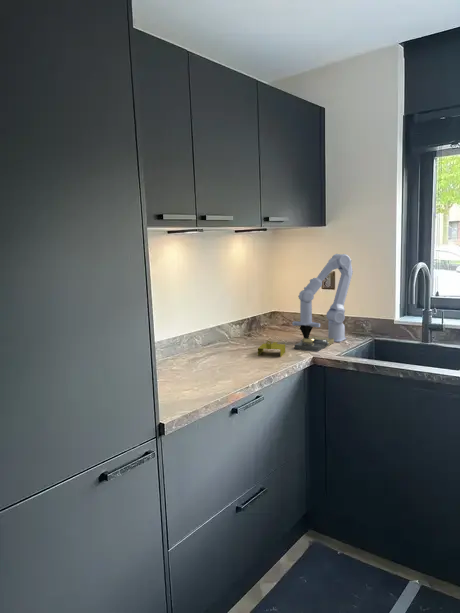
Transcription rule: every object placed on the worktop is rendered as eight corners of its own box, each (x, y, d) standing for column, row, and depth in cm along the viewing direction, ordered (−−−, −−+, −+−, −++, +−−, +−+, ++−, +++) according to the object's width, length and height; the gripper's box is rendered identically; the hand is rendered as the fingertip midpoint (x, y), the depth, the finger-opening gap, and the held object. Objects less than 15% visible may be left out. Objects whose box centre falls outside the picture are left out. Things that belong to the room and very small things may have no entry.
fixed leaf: (294, 348, 218) (294, 341, 218) (304, 344, 228) (304, 337, 228) (320, 351, 211) (320, 344, 211) (329, 346, 221) (329, 339, 220)
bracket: (292, 335, 215) (285, 341, 201) (292, 351, 216) (286, 358, 202) (260, 334, 220) (251, 340, 206) (260, 349, 221) (252, 357, 207)
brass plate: (299, 344, 226) (299, 338, 226) (309, 340, 236) (309, 334, 235) (324, 347, 219) (324, 340, 218) (333, 342, 228) (333, 336, 228)
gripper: (289, 314, 231) (289, 340, 233) (316, 315, 223) (316, 343, 225) (295, 312, 237) (296, 338, 239) (322, 313, 229) (322, 340, 231)
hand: (306, 340), depth 232 cm, fingers closed
